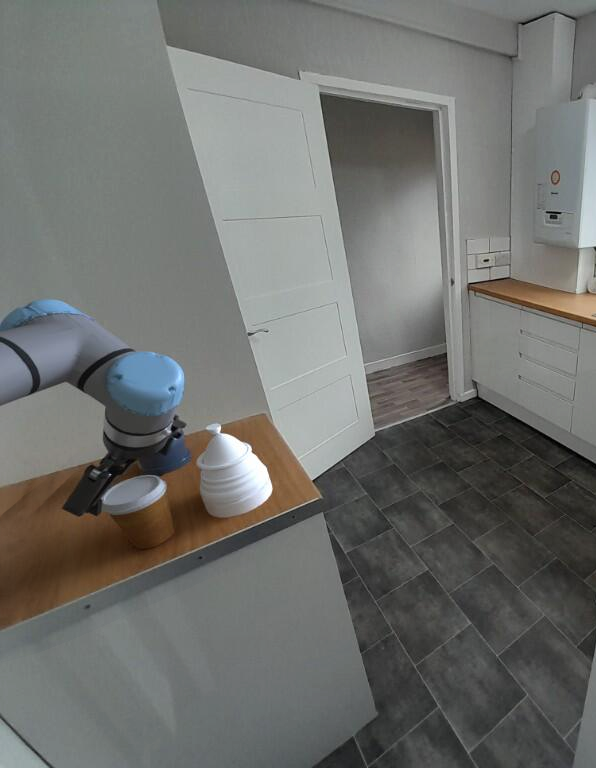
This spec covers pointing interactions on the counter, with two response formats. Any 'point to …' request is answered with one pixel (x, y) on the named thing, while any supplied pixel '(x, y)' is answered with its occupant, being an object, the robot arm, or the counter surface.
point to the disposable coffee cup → (140, 510)
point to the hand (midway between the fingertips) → (127, 478)
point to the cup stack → (167, 459)
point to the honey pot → (231, 476)
